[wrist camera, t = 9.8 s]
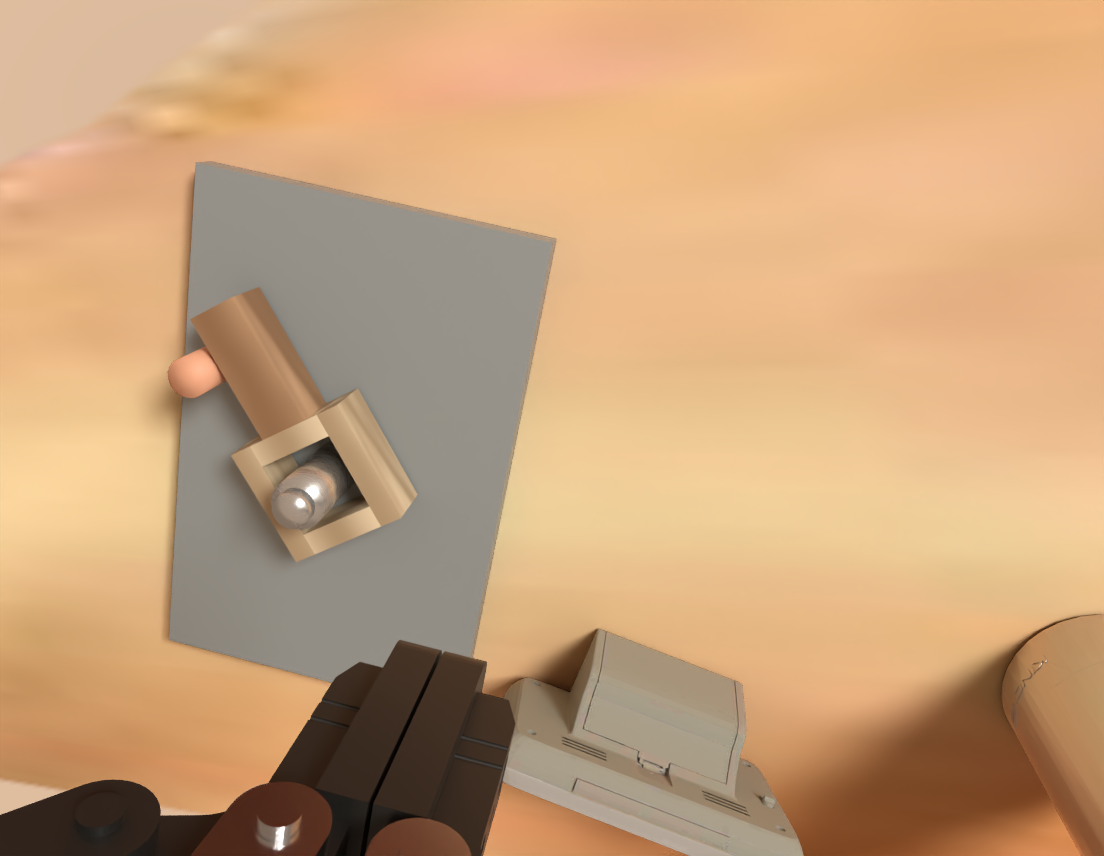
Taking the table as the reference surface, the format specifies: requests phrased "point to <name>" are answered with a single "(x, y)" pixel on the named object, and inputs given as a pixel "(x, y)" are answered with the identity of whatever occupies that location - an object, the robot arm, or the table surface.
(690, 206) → the table surface
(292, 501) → the post
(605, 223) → the table surface
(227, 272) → the jig deck
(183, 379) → the salmon orange capsule
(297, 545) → the square frame with handle
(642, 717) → the digital clock
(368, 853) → the robot arm
